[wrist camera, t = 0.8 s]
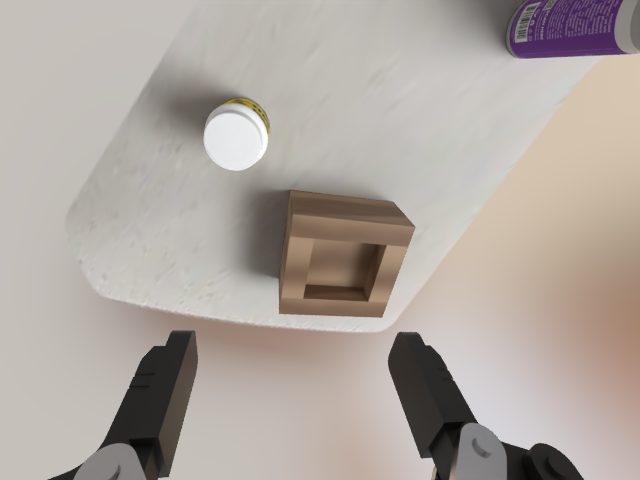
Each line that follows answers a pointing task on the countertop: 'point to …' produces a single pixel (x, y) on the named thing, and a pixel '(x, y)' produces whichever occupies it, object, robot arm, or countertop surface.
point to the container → (574, 28)
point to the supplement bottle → (236, 134)
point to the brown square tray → (340, 255)
